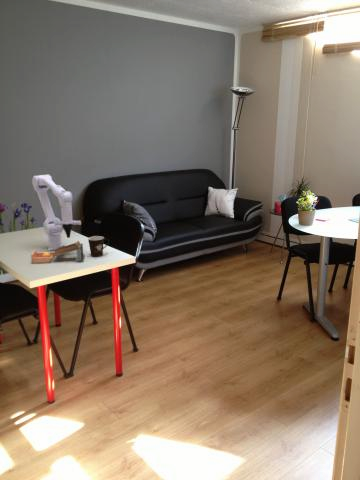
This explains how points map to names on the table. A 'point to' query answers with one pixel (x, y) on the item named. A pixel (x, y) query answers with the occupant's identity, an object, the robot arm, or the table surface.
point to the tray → (40, 257)
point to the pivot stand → (80, 254)
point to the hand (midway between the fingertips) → (68, 237)
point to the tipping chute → (66, 249)
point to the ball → (46, 254)
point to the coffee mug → (96, 245)
